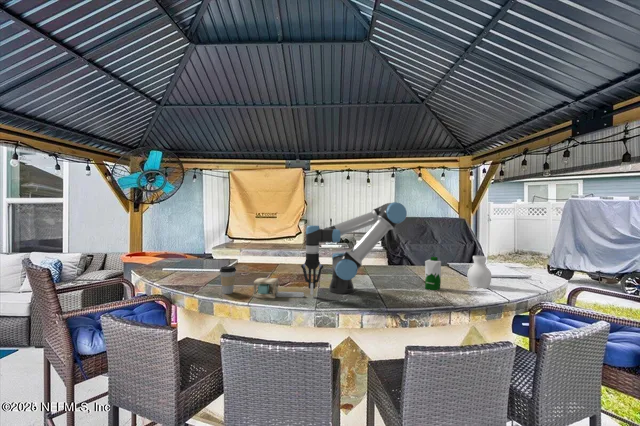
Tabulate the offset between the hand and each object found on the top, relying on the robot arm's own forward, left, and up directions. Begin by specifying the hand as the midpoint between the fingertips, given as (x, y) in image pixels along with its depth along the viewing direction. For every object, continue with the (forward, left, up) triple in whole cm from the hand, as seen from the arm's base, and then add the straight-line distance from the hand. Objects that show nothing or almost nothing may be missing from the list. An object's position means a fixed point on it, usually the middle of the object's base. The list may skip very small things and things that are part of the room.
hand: (311, 294), depth 166 cm
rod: (+14, 0, -2) cm, 15 cm away
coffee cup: (+50, -3, -2) cm, 51 cm away
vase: (-108, -37, -2) cm, 114 cm away
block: (+28, 0, -2) cm, 28 cm away
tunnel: (+26, 0, -2) cm, 26 cm away
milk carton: (-75, -27, -2) cm, 79 cm away
